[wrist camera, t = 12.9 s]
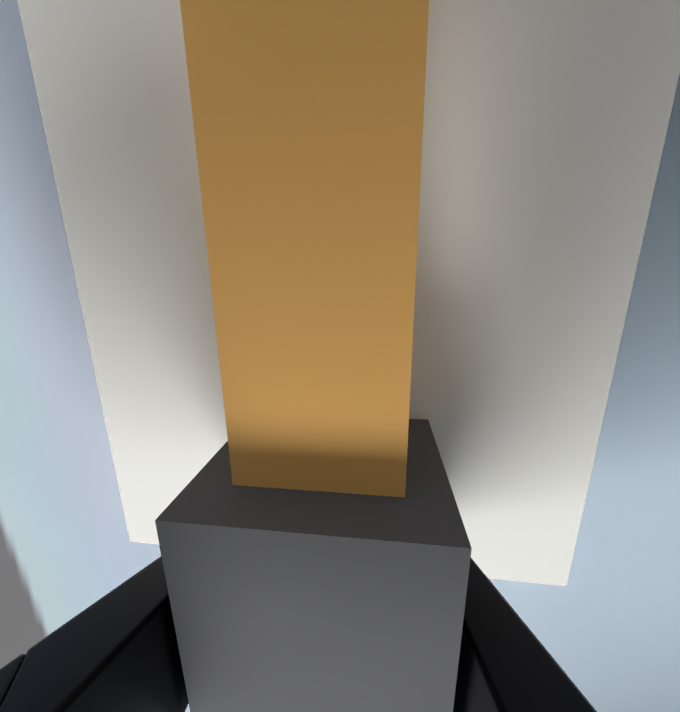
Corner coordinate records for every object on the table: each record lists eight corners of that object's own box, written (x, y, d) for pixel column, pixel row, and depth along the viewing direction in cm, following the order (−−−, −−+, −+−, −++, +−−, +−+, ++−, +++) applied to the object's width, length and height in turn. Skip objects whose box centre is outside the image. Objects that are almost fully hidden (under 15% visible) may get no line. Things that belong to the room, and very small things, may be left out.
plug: (464, -135, 5) (655, -1066, 1) (415, 611, 8) (439, 828, 5) (210, -95, 5) (-77, -722, 2) (268, 595, 9) (203, 784, 6)
